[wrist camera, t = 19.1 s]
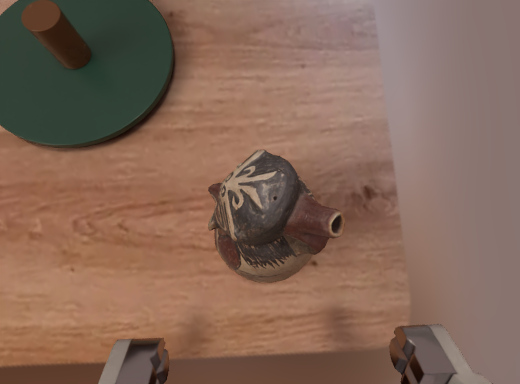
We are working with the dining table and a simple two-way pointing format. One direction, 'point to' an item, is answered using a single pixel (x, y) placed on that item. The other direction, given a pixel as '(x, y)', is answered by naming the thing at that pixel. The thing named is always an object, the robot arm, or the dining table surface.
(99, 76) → the lid
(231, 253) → the figurine
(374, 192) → the dining table surface
